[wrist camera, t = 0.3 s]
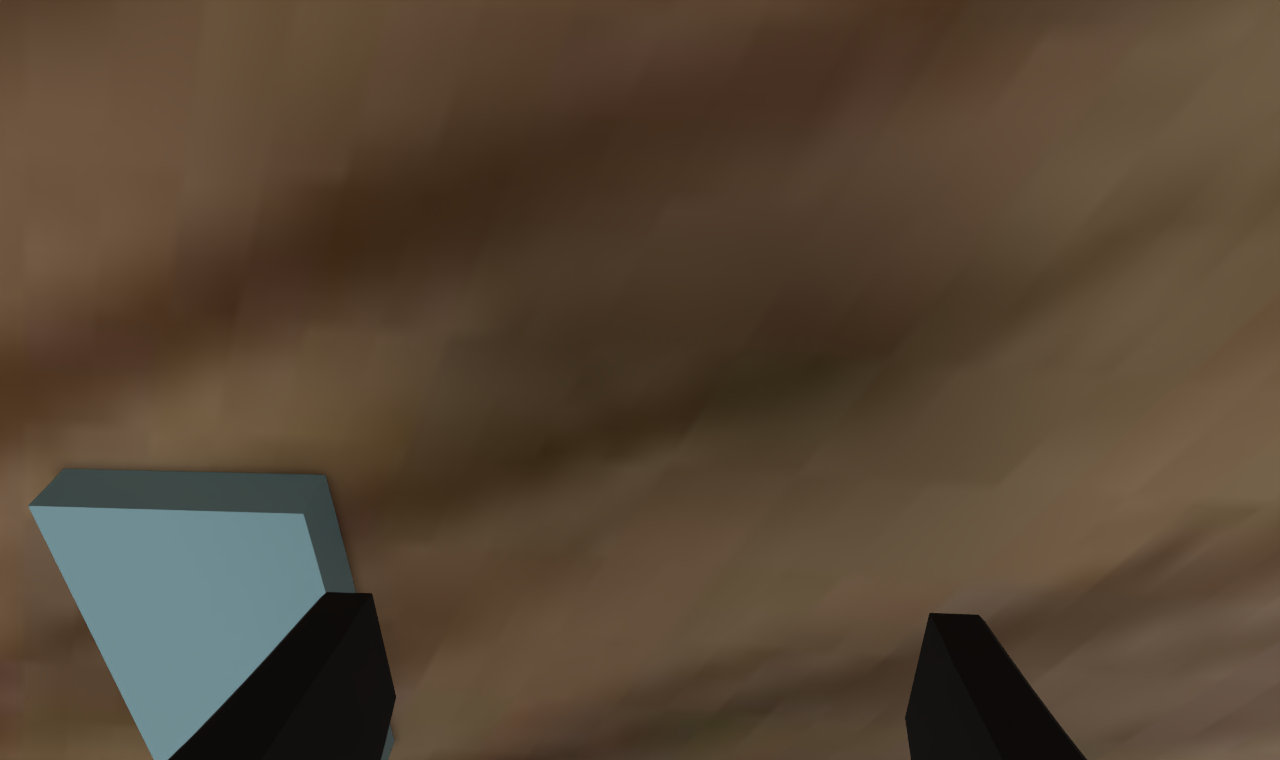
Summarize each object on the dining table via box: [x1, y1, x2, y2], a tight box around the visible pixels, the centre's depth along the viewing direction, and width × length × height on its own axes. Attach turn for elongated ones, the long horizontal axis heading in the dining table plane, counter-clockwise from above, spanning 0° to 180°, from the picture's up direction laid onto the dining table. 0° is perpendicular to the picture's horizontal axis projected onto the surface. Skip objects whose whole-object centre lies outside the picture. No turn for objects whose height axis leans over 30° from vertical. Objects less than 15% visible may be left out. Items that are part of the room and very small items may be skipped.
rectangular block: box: [28, 469, 394, 760], centre depth 26 cm, size 11×7×2 cm, turn 1°
